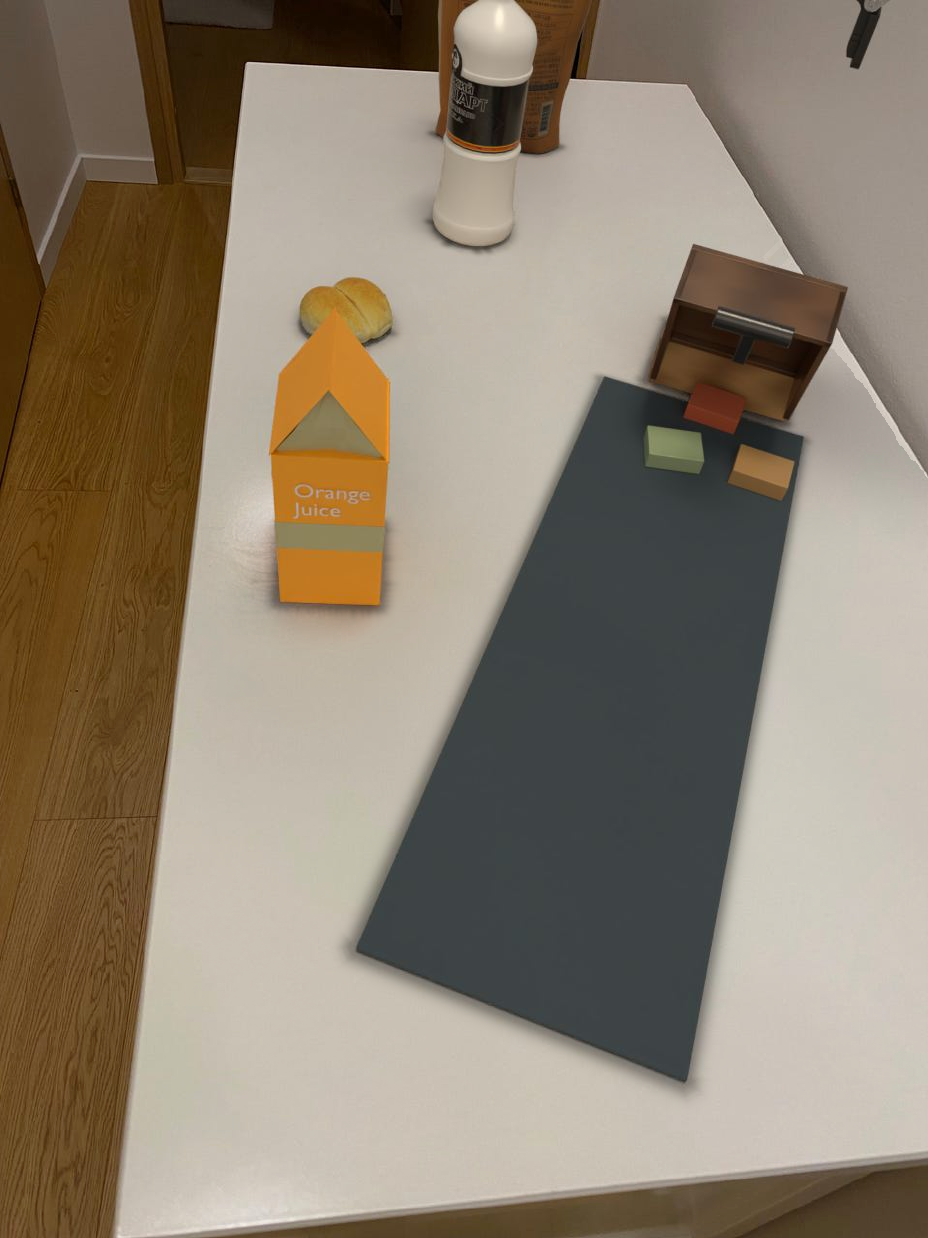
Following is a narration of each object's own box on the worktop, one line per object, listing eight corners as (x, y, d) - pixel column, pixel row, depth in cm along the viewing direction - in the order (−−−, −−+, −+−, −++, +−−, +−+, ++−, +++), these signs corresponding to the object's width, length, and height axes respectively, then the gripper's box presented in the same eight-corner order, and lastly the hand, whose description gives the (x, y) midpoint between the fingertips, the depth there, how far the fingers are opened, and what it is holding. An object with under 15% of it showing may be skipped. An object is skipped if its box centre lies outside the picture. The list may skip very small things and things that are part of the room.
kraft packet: (787, 488, 83) (781, 501, 84) (794, 461, 86) (788, 474, 87) (732, 469, 84) (727, 483, 85) (741, 443, 86) (735, 456, 88)
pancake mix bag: (571, 164, 122) (623, -100, 101) (424, 148, 120) (445, -124, 99) (567, 140, 126) (617, -118, 105) (425, 124, 125) (445, -141, 103)
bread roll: (285, 314, 95) (284, 278, 92) (363, 292, 99) (363, 257, 95) (327, 359, 91) (327, 322, 88) (405, 335, 95) (408, 299, 92)
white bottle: (518, 250, 107) (570, -63, 84) (437, 249, 106) (467, -72, 82) (504, 209, 113) (549, -96, 90) (427, 206, 111) (452, -105, 88)
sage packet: (704, 461, 84) (699, 474, 86) (701, 432, 87) (695, 445, 88) (649, 453, 84) (644, 466, 85) (647, 424, 87) (643, 438, 88)
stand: (797, 358, 100) (816, 316, 96) (784, 422, 93) (804, 379, 89) (669, 320, 102) (682, 278, 98) (646, 380, 94) (660, 337, 90)
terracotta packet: (739, 421, 89) (733, 434, 90) (747, 397, 91) (741, 411, 92) (687, 404, 89) (683, 417, 91) (697, 381, 92) (692, 394, 93)
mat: (802, 439, 91) (803, 436, 91) (685, 1082, 53) (687, 1080, 53) (603, 379, 94) (604, 375, 93) (355, 950, 56) (356, 948, 55)
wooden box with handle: (868, 250, 74) (839, 353, 71) (803, 368, 88) (777, 459, 85) (704, 205, 76) (669, 303, 72) (667, 328, 90) (636, 415, 87)
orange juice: (382, 523, 78) (395, 309, 62) (381, 606, 72) (395, 393, 57) (285, 519, 77) (274, 301, 62) (277, 602, 71) (262, 385, 56)
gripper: (1145, -187, 60) (1004, 84, 73) (921, -233, 62) (821, 39, 75) (1160, -164, 55) (1007, 122, 68) (917, -215, 57) (812, 72, 70)
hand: (910, 78), depth 71 cm, fingers open, 8 cm apart
